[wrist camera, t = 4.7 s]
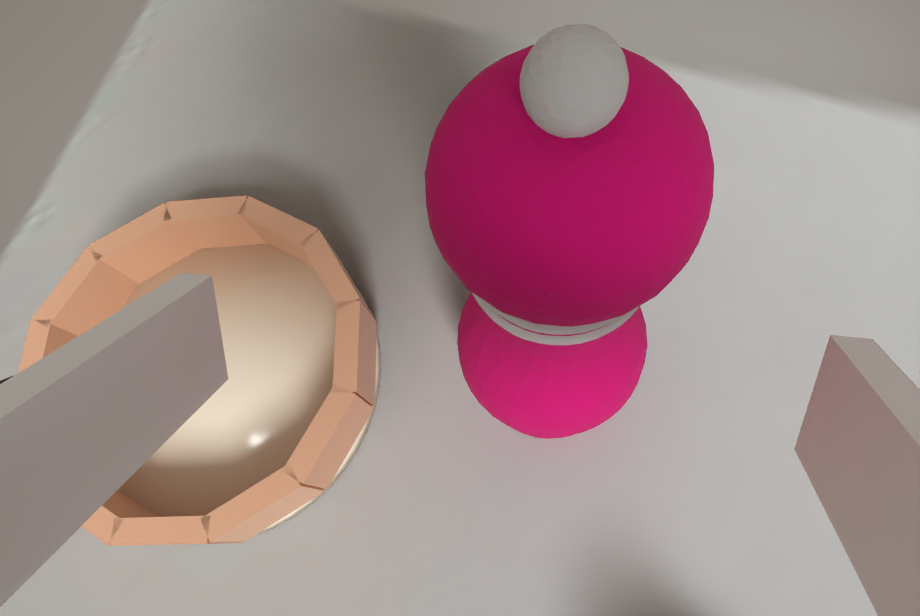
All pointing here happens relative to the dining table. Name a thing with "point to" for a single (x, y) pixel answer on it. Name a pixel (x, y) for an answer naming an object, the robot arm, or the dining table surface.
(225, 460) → the terracotta bowl
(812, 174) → the dining table surface
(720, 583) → the dining table surface
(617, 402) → the pepper mill
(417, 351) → the dining table surface
